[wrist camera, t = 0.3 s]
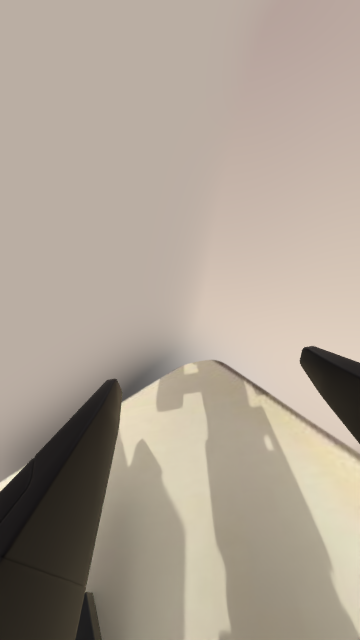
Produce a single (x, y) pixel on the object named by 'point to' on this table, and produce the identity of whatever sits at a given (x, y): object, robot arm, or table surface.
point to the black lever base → (88, 620)
